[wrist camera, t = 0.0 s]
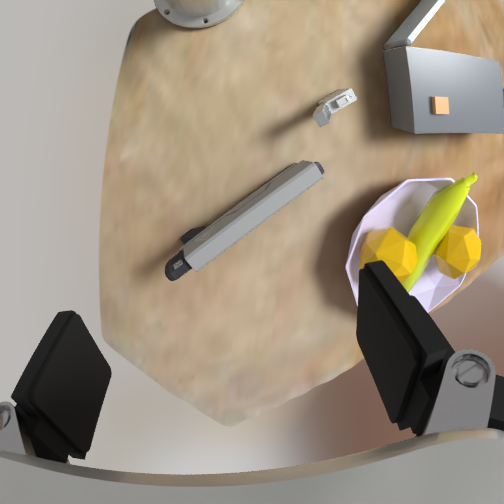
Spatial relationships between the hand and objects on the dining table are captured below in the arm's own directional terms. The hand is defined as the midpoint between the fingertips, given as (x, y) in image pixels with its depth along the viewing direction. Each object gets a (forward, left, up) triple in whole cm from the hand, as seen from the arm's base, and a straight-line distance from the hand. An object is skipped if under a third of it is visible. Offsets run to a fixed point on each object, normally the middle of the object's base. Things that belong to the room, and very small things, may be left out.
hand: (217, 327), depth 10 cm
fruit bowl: (+19, +28, -37) cm, 50 cm away
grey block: (-6, +34, -37) cm, 50 cm away
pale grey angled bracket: (-4, +14, -37) cm, 40 cm away
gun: (+9, 0, -37) cm, 38 cm away
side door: (-19, +31, -36) cm, 52 cm away
